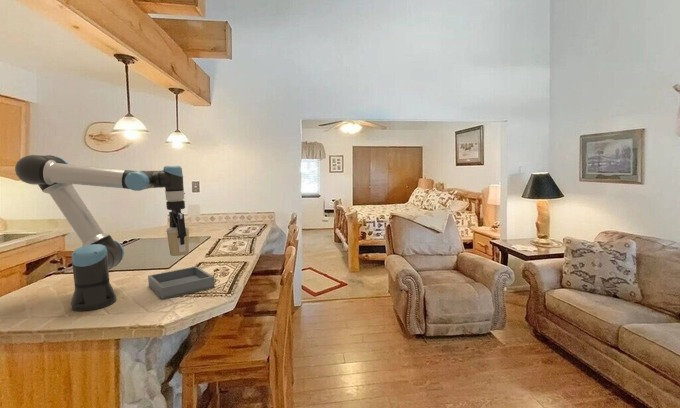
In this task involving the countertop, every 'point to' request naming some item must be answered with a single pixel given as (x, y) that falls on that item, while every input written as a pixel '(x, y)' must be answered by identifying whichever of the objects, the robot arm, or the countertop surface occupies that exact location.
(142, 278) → the countertop surface
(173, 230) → the coffee cup
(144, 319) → the countertop surface
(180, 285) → the walled box
